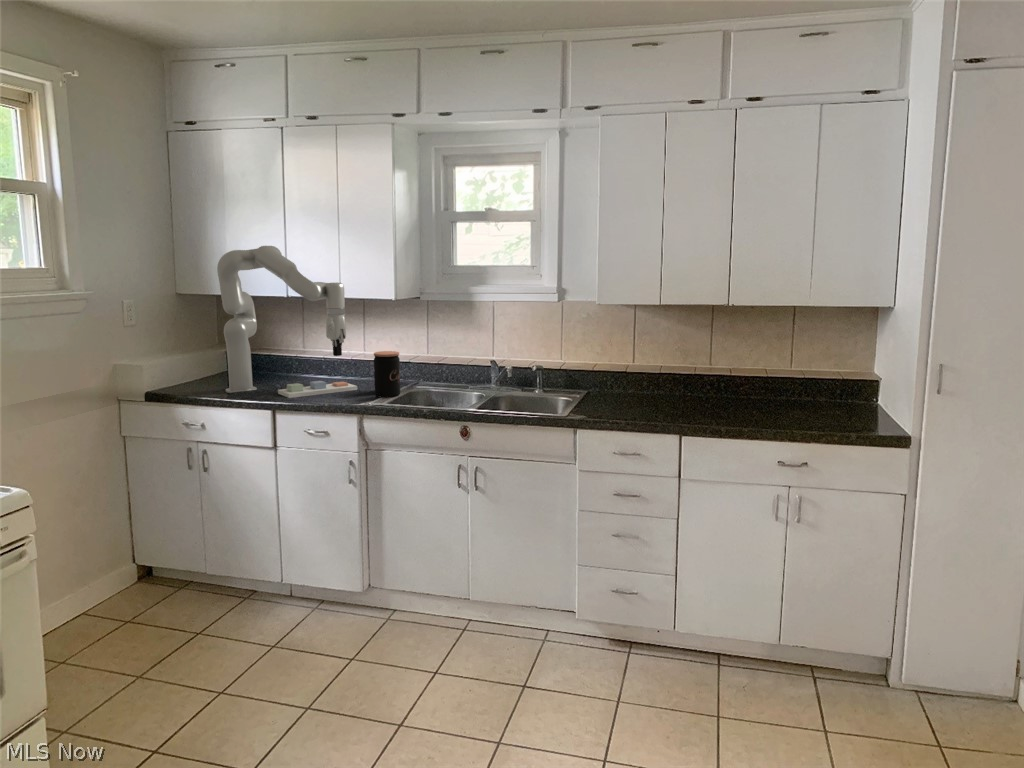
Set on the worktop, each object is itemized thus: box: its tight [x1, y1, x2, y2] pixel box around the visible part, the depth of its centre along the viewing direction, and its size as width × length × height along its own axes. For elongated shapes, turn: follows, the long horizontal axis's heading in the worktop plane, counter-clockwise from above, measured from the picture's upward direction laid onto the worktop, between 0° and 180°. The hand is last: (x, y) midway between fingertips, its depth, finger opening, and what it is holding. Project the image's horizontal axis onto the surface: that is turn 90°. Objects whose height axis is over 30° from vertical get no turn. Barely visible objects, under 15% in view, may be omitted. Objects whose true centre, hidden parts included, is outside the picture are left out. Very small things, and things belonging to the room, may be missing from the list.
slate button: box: [309, 380, 327, 390], centre depth 319 cm, size 5×5×4 cm
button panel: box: [277, 382, 358, 399], centre depth 319 cm, size 12×30×3 cm, turn 127°
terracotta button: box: [331, 381, 349, 387], centre depth 325 cm, size 5×5×4 cm
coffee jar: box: [373, 350, 401, 398], centre depth 317 cm, size 11×11×18 cm
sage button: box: [286, 382, 304, 392], centre depth 313 cm, size 5×5×4 cm
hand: (337, 355), depth 322 cm, fingers closed
